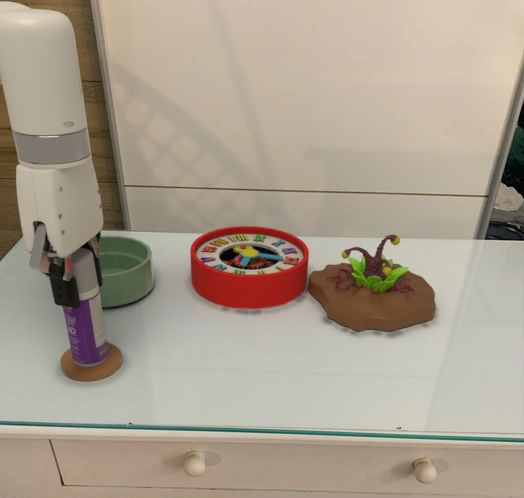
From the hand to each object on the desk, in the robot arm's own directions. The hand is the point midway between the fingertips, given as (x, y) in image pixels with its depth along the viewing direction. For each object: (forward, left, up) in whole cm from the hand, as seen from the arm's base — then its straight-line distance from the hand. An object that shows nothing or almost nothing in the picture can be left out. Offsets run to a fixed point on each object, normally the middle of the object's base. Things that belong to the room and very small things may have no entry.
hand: (79, 293), depth 69 cm
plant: (+35, +30, -11) cm, 48 cm away
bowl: (-8, +20, -11) cm, 24 cm away
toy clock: (+14, +30, -11) cm, 35 cm away
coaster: (0, 0, -11) cm, 11 cm away
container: (0, 0, -10) cm, 10 cm away
